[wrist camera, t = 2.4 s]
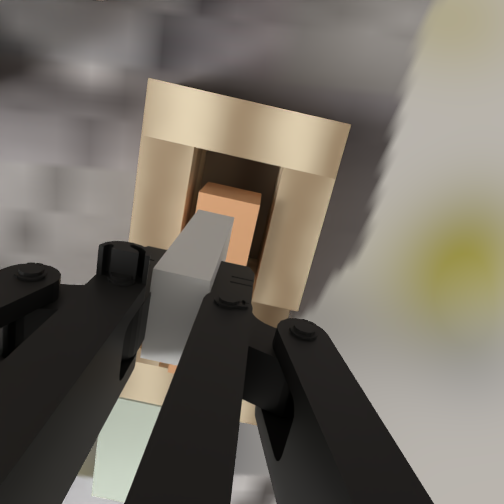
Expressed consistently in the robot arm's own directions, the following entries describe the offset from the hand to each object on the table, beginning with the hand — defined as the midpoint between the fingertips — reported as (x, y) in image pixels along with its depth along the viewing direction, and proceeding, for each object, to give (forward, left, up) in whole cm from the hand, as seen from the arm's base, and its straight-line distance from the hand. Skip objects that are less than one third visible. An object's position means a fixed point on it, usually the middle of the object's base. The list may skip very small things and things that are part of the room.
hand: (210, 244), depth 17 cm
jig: (0, -7, -18) cm, 19 cm away
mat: (-3, -31, -18) cm, 36 cm away
